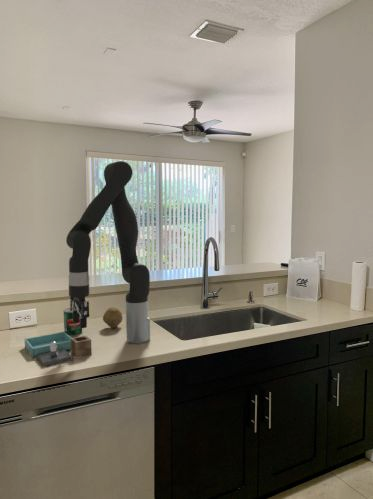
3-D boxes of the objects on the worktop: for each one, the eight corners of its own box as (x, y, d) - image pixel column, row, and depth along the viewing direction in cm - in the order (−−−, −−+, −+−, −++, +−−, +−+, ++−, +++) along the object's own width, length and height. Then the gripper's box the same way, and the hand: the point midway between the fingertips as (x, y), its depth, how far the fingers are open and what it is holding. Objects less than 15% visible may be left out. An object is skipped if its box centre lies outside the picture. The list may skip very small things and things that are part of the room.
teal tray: (64, 339, 159) (64, 331, 158) (75, 348, 147) (74, 340, 147) (24, 347, 149) (24, 339, 149) (33, 357, 138) (32, 348, 138)
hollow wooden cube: (86, 350, 146) (85, 335, 145) (91, 354, 141) (91, 339, 140) (71, 353, 142) (70, 338, 142) (76, 358, 137) (75, 342, 137)
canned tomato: (74, 329, 172) (73, 306, 171) (86, 332, 168) (85, 308, 167) (60, 334, 166) (59, 310, 165) (72, 337, 162) (71, 312, 161)
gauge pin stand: (63, 352, 144) (62, 335, 143) (71, 360, 135) (71, 342, 135) (36, 358, 138) (35, 340, 137) (43, 366, 130) (43, 348, 129)
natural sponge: (99, 329, 172) (98, 308, 171) (108, 324, 181) (108, 304, 180) (116, 331, 169) (116, 310, 169) (125, 325, 178) (125, 305, 177)
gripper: (95, 285, 136) (96, 328, 137) (82, 280, 147) (82, 319, 148) (75, 287, 131) (76, 331, 133) (63, 281, 143) (64, 322, 144)
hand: (79, 325), depth 140 cm, fingers open, 8 cm apart
